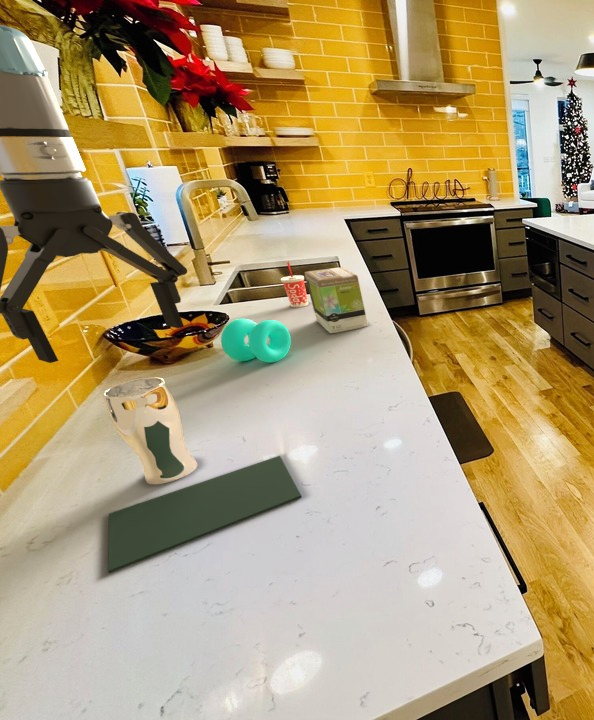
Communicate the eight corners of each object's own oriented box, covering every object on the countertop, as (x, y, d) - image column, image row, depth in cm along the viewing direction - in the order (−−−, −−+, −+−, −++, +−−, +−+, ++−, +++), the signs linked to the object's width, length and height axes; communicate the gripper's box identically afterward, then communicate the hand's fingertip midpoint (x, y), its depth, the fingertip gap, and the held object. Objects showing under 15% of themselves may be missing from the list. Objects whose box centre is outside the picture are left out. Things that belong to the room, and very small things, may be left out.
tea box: (370, 326, 140) (358, 274, 134) (330, 335, 134) (315, 281, 128) (353, 314, 150) (342, 265, 144) (315, 321, 144) (302, 270, 138)
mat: (109, 516, 69) (108, 513, 69) (280, 458, 82) (279, 455, 81) (109, 574, 60) (107, 571, 59) (302, 498, 72) (301, 495, 72)
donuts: (261, 351, 123) (248, 312, 119) (298, 353, 122) (287, 314, 118) (226, 367, 114) (211, 326, 110) (266, 369, 113) (252, 328, 109)
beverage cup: (284, 308, 155) (271, 263, 149) (295, 302, 161) (282, 259, 155) (305, 308, 155) (292, 263, 150) (315, 302, 161) (303, 259, 155)
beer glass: (195, 454, 82) (160, 372, 76) (206, 471, 78) (170, 385, 72) (138, 474, 77) (96, 388, 71) (147, 493, 73) (103, 403, 67)
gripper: (-118, 184, 48) (-4, 384, 56) (183, 172, 69) (232, 317, 77) (-149, 182, 50) (-35, 373, 59) (150, 171, 71) (202, 312, 80)
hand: (117, 342), depth 68 cm, fingers open, 13 cm apart
